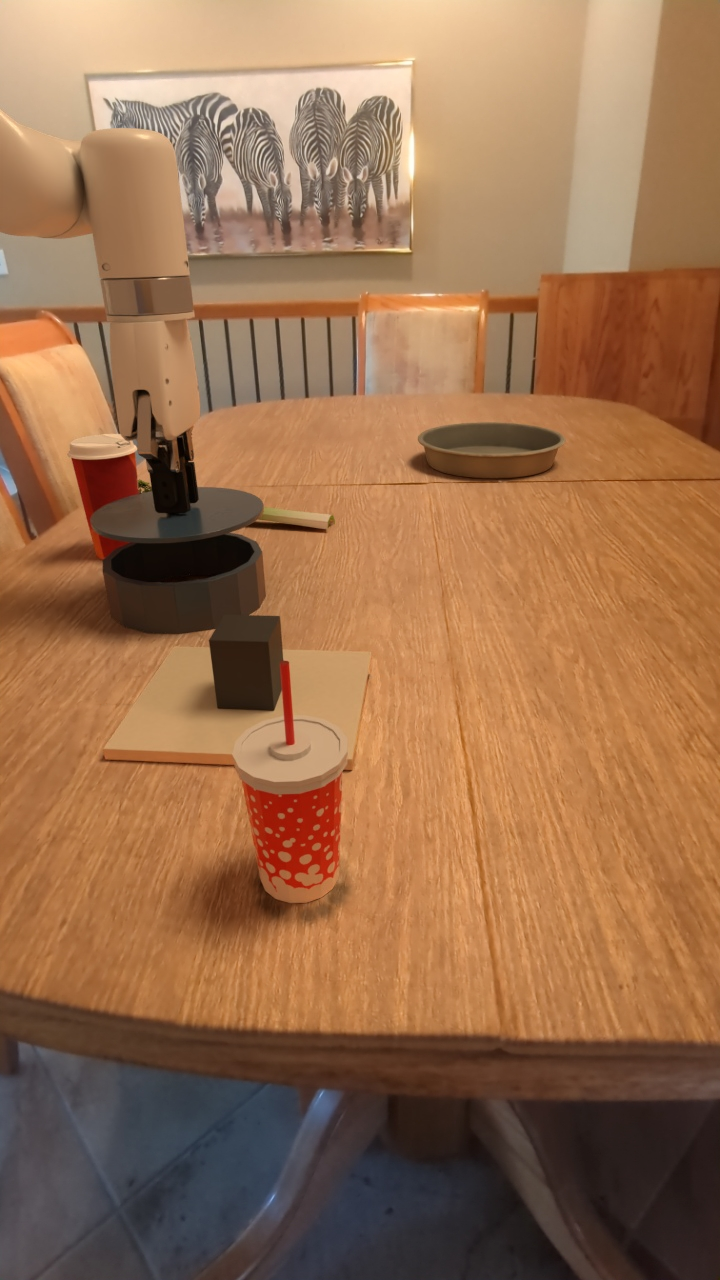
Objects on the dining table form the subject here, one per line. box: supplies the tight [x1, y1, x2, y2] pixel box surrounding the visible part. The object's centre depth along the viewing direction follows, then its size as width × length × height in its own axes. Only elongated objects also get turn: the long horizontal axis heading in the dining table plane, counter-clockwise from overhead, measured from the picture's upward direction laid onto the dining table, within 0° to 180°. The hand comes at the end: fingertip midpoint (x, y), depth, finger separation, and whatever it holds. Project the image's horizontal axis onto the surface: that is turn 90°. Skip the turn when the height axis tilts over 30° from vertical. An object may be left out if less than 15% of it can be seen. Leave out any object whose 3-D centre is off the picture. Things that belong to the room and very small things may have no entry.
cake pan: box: [417, 421, 566, 479], centre depth 128 cm, size 25×25×4 cm
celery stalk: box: [138, 478, 336, 530], centre depth 101 cm, size 6×7×30 cm
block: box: [208, 614, 284, 711], centre depth 59 cm, size 4×4×6 cm
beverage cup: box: [232, 661, 348, 904], centre depth 41 cm, size 6×6×14 cm
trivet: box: [102, 645, 373, 771], centre depth 60 cm, size 18×16×1 cm
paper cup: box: [66, 433, 140, 560], centre depth 89 cm, size 8×8×14 cm
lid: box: [90, 454, 265, 543], centre depth 73 cm, size 17×17×6 cm
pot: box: [102, 532, 267, 635], centre depth 77 cm, size 16×16×6 cm
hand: (177, 505), depth 74 cm, fingers closed on lid, 2 cm apart
